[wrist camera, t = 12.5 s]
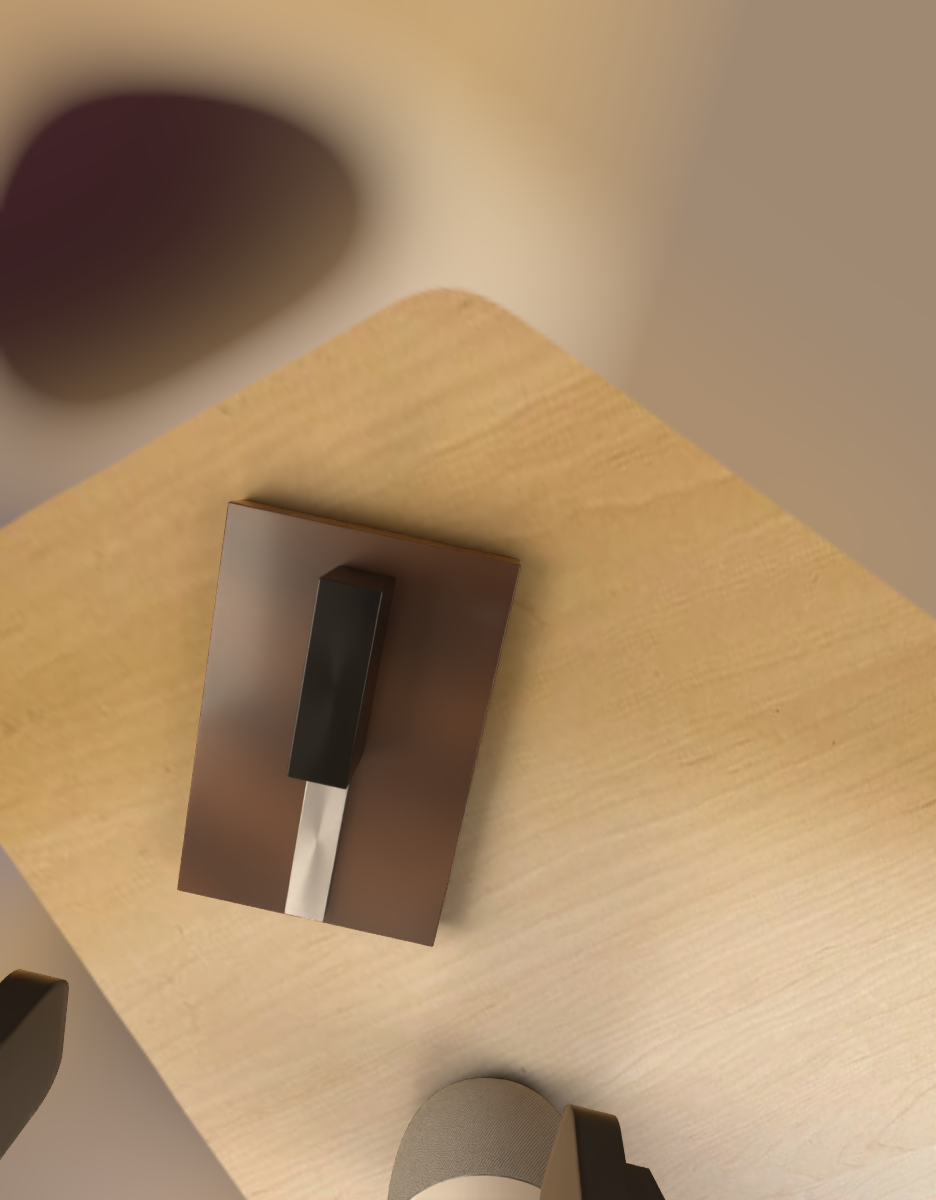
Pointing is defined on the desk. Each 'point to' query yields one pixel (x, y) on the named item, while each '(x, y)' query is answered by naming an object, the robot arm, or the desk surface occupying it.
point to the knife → (333, 721)
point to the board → (395, 732)
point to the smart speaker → (476, 1144)
